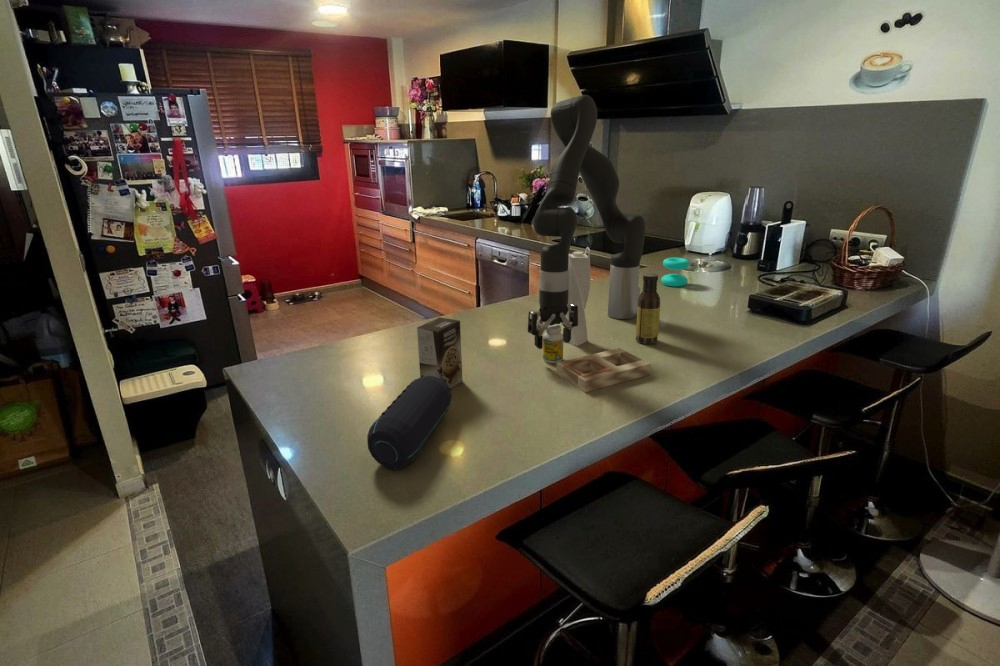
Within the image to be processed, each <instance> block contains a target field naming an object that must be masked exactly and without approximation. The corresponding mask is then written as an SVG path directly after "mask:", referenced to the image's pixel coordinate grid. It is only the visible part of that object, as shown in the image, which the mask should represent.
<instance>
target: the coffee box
mask: <svg viewBox="0 0 1000 666" xmlns="http://www.w3.org/2000/svg"><path fill="white" fill-rule="evenodd" d="M416 330H417V332H416V333H417V349H418V350H417V351H418V361H419V362H418V363H419V378H421V377H423V376H435V377H438V378H441V379H442V380H443V381H444V382H446V383H447V384H448V386H449V388H450V390H451V389H453V388H454V387H455V386H458V385H460V384H461V383H463V382H464V381H463V361H462V360H463V359H462V356H463V355H462V338H461V337H462V336H461V321H460V320H458V319H452V318H447V317H446V318H445V317H437V318H436V319H432V320H431V321H428V322H427V323H424V324H422V325H419V326H417V327H416Z"/></svg>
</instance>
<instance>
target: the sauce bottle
mask: <svg viewBox="0 0 1000 666" xmlns="http://www.w3.org/2000/svg"><path fill="white" fill-rule="evenodd" d="M658 279H659V274H657V273H652V272H649V273H643V275H642V281H643V283H642V284H643V285H642V291H641V292H640V296H639V298H638V307H637V316H636V328H635V329H636V330H635V334H636V335H635V336H636V337H635V340H636V342H638V343H639V344H643V345H652V344H655V343H657V342H658V337H659V328H660V316H661V315H660V313H661V312H660V311H661V297H660V295H659V293H658V291H657V289H658V287H657V286H658V281H659V280H658Z"/></svg>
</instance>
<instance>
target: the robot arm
mask: <svg viewBox="0 0 1000 666" xmlns="http://www.w3.org/2000/svg"><path fill="white" fill-rule="evenodd" d="M550 119H551V124H552V127H553V129H554V132H555V134H556V135H557V137H558V138H559V140H560V141H561V144H563V146H564V147H565V149H563V151H562V152H561V154H560V155H559V156H558V158H557V159H556V161H555V163H554V165H553V166H552V169H551V172H550V175H549V176H550V177H549V181H548V185H547V190H546V193H545V195H544V196H543V199H542V200H541V202H540V204H539V206H538V208H537V209H536V212H535V215H534V216H533V229H534V231H535V233H536V234H537V235H539V236H542V237H554V238H555V237H556V238H557V237H558V238H559V237H560V240H559V242H557V243H555V244H549V245H545V246H543V247H542V248H541V250H540V272H539V292H538V293H539V298H538V303H539V309H538V310H537V311H536V310H535V311H533V310H529V311H528V316H527V318H528V319H527V320H528V321H527V333H529V334H531V335H532V336H534V346H535V347H536V348H537V349H538V350H543V335H544V332H546V329H547V328H548V326H549V325H550V326H551V325H554V324H557V325H560V324H561V325H562V326H563V328H562V334H563V341H564V342H563V343H565V344H569V342H570V340H571V330H572V328H573V327H577V326H578V306H576V305H574V304H572V303H570V304H569V306H567V304H568V293H569V274H568V260H569V254H570V248H571V244H572V240H573V238H574V235H575V231H576V229H577V224H578V217H577V213H576V212H575V210H574V209H573V208H570V207H564V206H567V205H570V204H571V203H573V201H574V199H575V197H576V191H577V186H578V180H579V175H580V176H581V178H582V180H583V183H584V185H585V187H586V189H587V191H588V193H589V195H590V196H591V198H592V200H593V202H594V204H595V207H596V208H597V211H598V213H599V215H600V218H601V222H602V224H603V227H604V230H605V232H606V235H607V236H608V238H609V240H611V241H612V242H615V243H616V244H617V243H618V244H624V247H623V251H622V252H618V253H614V254H612V255H611V257H610V263H609V264H610V268H609V282H608V283H609V284H608V285H609V286H608V300H607V301H608V302H607V316H608V317H610V318H612V319H613V318H614V319H617V320H628V319H629V320H630V319H635V318H636V317H637V307H638V298H639V296H640V294H641V287H640V286H639V279H640V267H641V259H642V256H643V251H644V245H645V237H646V223H645V219H644V217H642V215H639V214H632V213H623V212H622V211H621V210H620V209H619V207H618V205H617V196H618V193H619V190H620V189H619V188H620V179H619V176H618V173H617V171H616V169H615V167H614V164H613V163H612V160H610V158H608V157H607V156H606V155H605V154H604V153H602V152H600V151H599V150H597V149H596V148H595V147H593V146H592V145H590V143H591V140H592V137H593V134H594V132H595V129H596V126H597V122H598V121H597V120H598V108H597V105H596V102H595V100H594V99H593V97H591V96H590V95H588V94H583V95H581V94H580V95H577V96H575V97H571V98H567V99H564V100H561V101H557V102H556V103H554V104H553V105H552V107H551V109H550ZM567 312H569V321H568V319H567V318H566V314H567ZM539 317H540V318H539ZM564 327H565V328H564Z"/></svg>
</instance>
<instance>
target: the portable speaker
mask: <svg viewBox="0 0 1000 666" xmlns="http://www.w3.org/2000/svg"><path fill="white" fill-rule="evenodd" d="M452 397H453V396H452V390H451V389H450V388H449V386H448V384H447V383H446V382H444V381H443V380H442V379H441V378H438V377H435V376H423V377H421V378H420V377H418V378H415V379H414V380H413V381H411V382H410V383H409V384H408V385H407V386H406V387H405V388H404V389H403V390H402V391H401V393H400V394H399V395H397V397H396V398H395V399H394V400H392V402H391V404H390V405H389V406H387V408H386V409H385V410H384V411H383V412H382V413H381V414H380V416H379V417H378V418H377V419H376V420H375V421H374V422H373V423H372V425H371V426H370V427H369V430H368V433H367V438H366V439H367V440H366V441H367V449H368V451H369V453H370V455H371V457H372V458H373V459H374V460H375V461H376V462H377V464H379V465H381V466H383V467H384V468H387V469H391V470H399V469H401V468H405V467H406V466H408V465H410V463H412V461H413V460H414V459H415V458H416V457H417V456H418V454H419V453H420V451H421V450H423V449H422V448H423V447H424V446H425V444H426V443H427V442H428V440H429V439H430V437H431V436H432V434H433V433H434V432H435V430H436V429H437V427H438V426H439V424H440V423H441V421H442V420H443V419H444V417H445V416H446V414H447V413H448V411H449V409H450V406H451V403H452Z"/></svg>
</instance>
